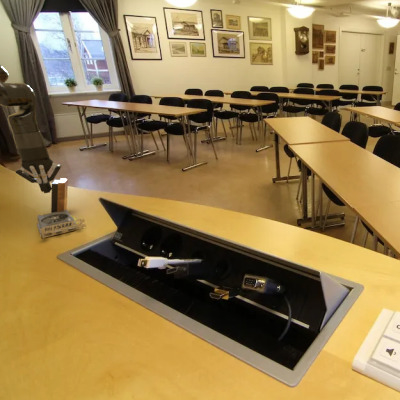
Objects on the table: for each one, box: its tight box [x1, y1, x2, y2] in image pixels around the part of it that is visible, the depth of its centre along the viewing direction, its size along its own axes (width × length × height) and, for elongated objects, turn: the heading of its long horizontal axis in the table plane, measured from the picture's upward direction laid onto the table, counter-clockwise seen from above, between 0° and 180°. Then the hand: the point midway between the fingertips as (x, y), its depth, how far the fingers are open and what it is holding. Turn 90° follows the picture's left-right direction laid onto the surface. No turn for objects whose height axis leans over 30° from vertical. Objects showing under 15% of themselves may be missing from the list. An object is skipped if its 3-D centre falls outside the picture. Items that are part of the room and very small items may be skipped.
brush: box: [50, 177, 69, 213], centre depth 118 cm, size 4×6×13 cm
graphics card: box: [36, 209, 87, 241], centre depth 111 cm, size 17×4×12 cm
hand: (47, 192), depth 116 cm, fingers closed
